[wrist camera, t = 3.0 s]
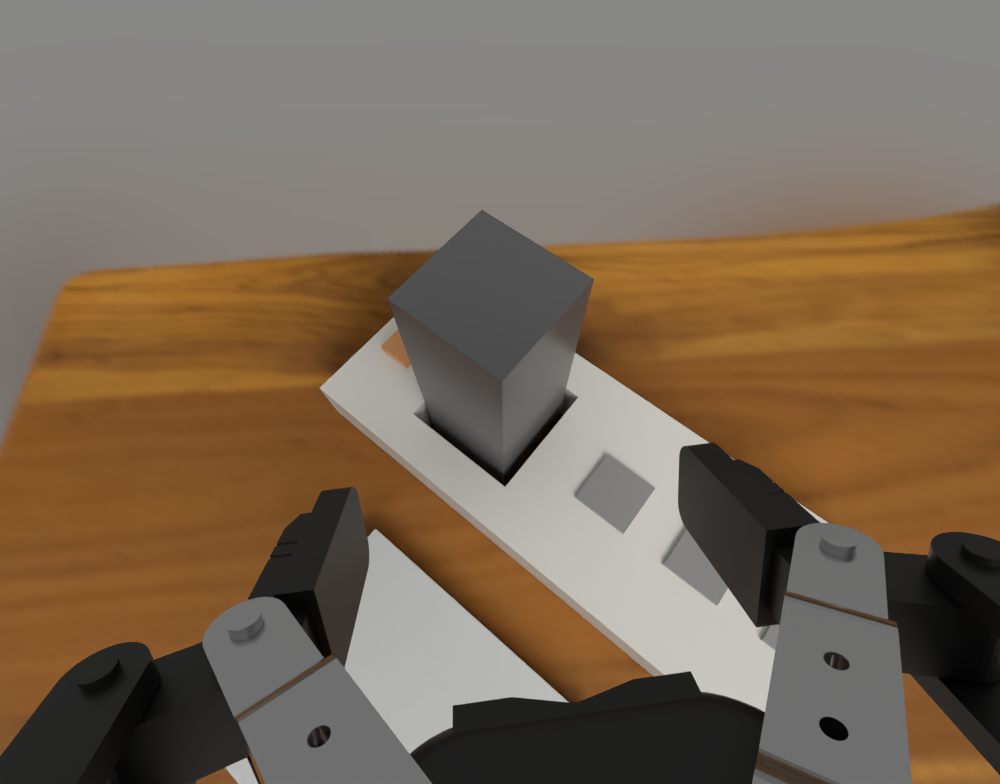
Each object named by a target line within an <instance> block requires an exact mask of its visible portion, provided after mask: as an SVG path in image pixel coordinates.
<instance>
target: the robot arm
mask: <svg viewBox="0 0 1000 784" xmlns="http://www.w3.org/2000/svg"><path fill="white" fill-rule="evenodd" d="M678 508H679V513H680V517H681V520H682V522H683V524H684V526H685V527H686V529H687V530H688V532H689V533H690V535H691V536H692V537H693V539H694V540H695V542H696V543H697V544H698V546H699V547H700V549H701V550H702V552H703V553H704V554H705V556H706V557H707V559H708V560H709V561H710V563H711V564H712V566H713V567H714V569H715V570H716V571H717V573H718V574H719V576H720V577H721V578H722V580H723V581H724V583H725V584H726V585H727V587H728V588H729V590H730V591H731V593H732V594H733V595H734V597H735V598H736V600H737V601H738V602H739V604H740V605H741V607H742V608H743V610H744V611H745V612H746V614H747V615H748V617H749V618H750V619H751V621H752V622H753V624H754V625H755V626H756V627H763V626H770V625H778V624H779V632H778V638H777V644H776V650H775V656H774V661H773V667H772V673H771V679H770V685H769V691H768V697H767V703H766V709H765V712H764V711H762V710H760V709H758V708H756V707H754V706H751V705H749V704H746V703H744V702H742V701H739V700H736V699H733V698H730V697H726V696H723V695H718V694H713V693H708V692H701V691H700V689H699V687H698V685H697V683H696V681H695V679H694V677H693V675H692V673H691V671H688V672H682V673H675V674H668V675H661V676H654V677H647V678H640V679H633V680H631V681H628V682H626V683H624V684H621V685H619V686H616V687H614V688H612V689H609V690H607V691H604V692H602V693H600V694H597V695H595V696H593V697H590V698H588V699H585V700H583V701H580V702H575V703H569V702H559V701H548V700H538V699H527V698H517V697H509V698H502V699H495V700H488V701H481V702H474V703H467V704H460V705H453V727H452V728H449V729H447V730H445V731H442V732H441V733H439V734H437V735H435V736H433V737H432V738H430V739H428V740H427V741H425V742H424V743H423V744H421V745H420V746H418V747H417V748H416V749H415V750H413V751H412V752H411V753H410V754H409V752H408V751H407V750H406V748H405V747H404V746H403V745H402V743H401V742H400V741H399V739H398V738H397V737H396V735H395V734H394V733H393V731H392V730H391V729H390V727H389V726H388V725H387V723H386V722H385V721H384V720H383V718H382V717H381V716H380V714H379V713H378V712H377V710H376V709H375V708H374V706H373V705H372V704H371V702H370V701H369V700H368V698H367V697H366V696H365V694H364V693H363V692H362V691H361V689H360V688H359V687H358V685H357V684H356V683H355V681H354V680H353V679H352V677H351V676H350V675H349V673H348V672H347V671H346V669H345V664H346V660H347V656H348V652H349V647H350V643H351V639H352V635H353V631H354V626H355V622H356V618H357V614H358V609H359V605H360V601H361V597H362V593H363V588H364V584H365V580H366V576H367V572H368V567H369V544H368V538H367V534H366V529H365V525H364V520H363V516H362V511H361V507H360V503H359V498H358V494H357V491H356V489H355V488H354V487H349V488H341V489H333V490H325V491H322V492H321V493H320V495H319V497H318V499H317V501H316V504H315V506H314V508H313V510H312V512H311V513H306V514H300V515H299V516H298V517H297V518H296V519H295V520H294V521H293V522H291V523H290V524H289V525H288V526H287V527H286V528H285V529H284V531H283V533H282V535H281V537H280V539H279V541H278V543H277V547H275V548H274V550H273V552H272V554H271V556H270V557H271V558H270V559H269V560H268V562H267V564H266V566H265V567H264V569H263V571H262V573H261V575H260V577H259V579H258V581H257V583H256V585H255V587H254V589H253V590H252V592H251V594H250V596H249V598H248V600H247V601H244V602H241V603H239V604H237V605H235V606H233V607H232V608H230V609H228V610H227V611H225V612H224V613H222V614H221V615H220V616H219V617H218V618H216V619H215V620H214V621H213V623H212V624H211V625H210V626H209V628H208V629H207V631H206V633H205V634H204V637H203V642H201V643H198V644H196V645H194V646H191V647H188V648H185V649H183V650H180V651H177V652H174V653H172V654H169V655H166V656H163V657H161V658H158V659H155V660H153V657H152V655H151V653H150V651H149V648H148V647H147V646H146V645H144V644H142V643H138V642H127V643H121V644H117V645H113V646H110V647H108V648H105V649H103V650H100V651H98V652H96V653H94V654H93V655H91V656H89V657H87V658H86V659H84V660H82V661H81V662H80V663H78V664H77V665H75V666H74V667H73V668H72V669H70V670H69V671H68V672H67V673H66V674H65V675H64V676H63V677H62V678H61V679H60V680H59V681H58V682H57V683H56V684H55V686H54V687H53V688H52V690H51V691H50V692H49V694H48V695H47V696H46V698H45V699H44V700H43V701H42V703H41V704H40V705H39V707H38V708H37V709H36V711H35V712H34V713H33V715H32V716H31V717H30V718H29V720H28V721H27V722H26V724H25V725H24V726H23V728H22V729H21V730H20V732H19V733H18V734H17V735H16V737H15V738H14V739H13V741H12V742H11V743H10V745H9V746H8V747H7V749H6V750H5V751H4V752H3V754H2V755H1V756H0V784H195V783H196V781H197V780H198V779H200V778H203V777H205V776H207V775H209V774H211V773H214V772H216V771H218V770H220V769H223V768H225V767H227V766H229V765H232V764H234V763H236V762H238V761H240V760H243V759H245V758H247V760H248V762H249V764H250V767H251V769H252V771H253V773H254V776H255V778H256V780H257V783H258V784H912V782H911V771H910V759H909V748H908V736H907V725H906V713H905V702H904V690H903V679H902V673H908V674H911V675H912V677H913V678H914V679H915V680H916V681H917V682H918V683H919V684H920V686H921V687H922V688H923V689H924V690H925V691H926V692H927V694H928V695H929V696H930V697H931V698H932V699H933V700H934V701H935V703H936V704H937V705H938V706H939V707H940V708H941V709H942V710H943V712H944V713H945V714H946V715H947V716H948V717H949V718H950V719H951V721H952V722H953V723H954V724H955V725H956V726H957V727H958V728H959V730H960V731H961V732H962V733H963V734H964V735H965V736H966V737H967V739H968V740H969V741H970V742H971V743H972V744H973V745H974V747H975V748H976V749H977V750H978V751H979V752H980V753H981V754H982V756H983V757H984V758H985V759H986V760H987V761H988V762H989V763H990V765H991V766H992V767H993V768H994V769H995V770H996V771H997V772H998V774H999V775H1000V541H997V540H994V539H991V538H988V537H984V536H981V535H976V534H971V533H963V532H948V533H942V534H939V535H937V536H935V537H934V538H933V539H932V541H931V545H930V549H929V553H928V555H916V554H904V553H892V552H883V551H882V549H881V547H880V546H879V545H878V544H877V543H876V542H875V541H874V540H873V539H871V538H870V537H868V536H867V535H865V534H863V533H861V532H859V531H857V530H855V529H852V528H849V527H846V526H842V525H837V524H831V523H820V522H819V521H818V520H817V519H816V518H815V517H813V516H812V515H811V514H810V513H809V512H808V511H807V510H805V509H804V508H803V507H802V506H801V505H800V504H799V503H797V502H796V501H795V500H794V499H793V498H792V497H791V496H790V495H788V494H787V493H784V490H783V489H782V488H780V487H779V486H778V485H777V484H776V483H773V481H772V480H771V479H770V478H769V477H768V476H767V475H766V474H764V473H763V472H762V471H761V470H760V469H759V468H757V467H754V466H752V465H750V464H748V463H746V462H744V461H741V460H739V459H738V460H733V459H732V458H731V457H730V456H729V455H727V454H726V453H725V452H724V451H723V450H722V449H721V448H720V447H719V446H718V445H717V444H715V443H705V444H697V445H690V446H683V447H682V448H681V450H680V454H679V480H678Z"/></svg>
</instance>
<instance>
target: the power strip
mask: <svg viewBox="0 0 1000 784" xmlns="http://www.w3.org/2000/svg"><path fill="white" fill-rule="evenodd" d="M320 390H321V391H322V392H323V394H324V395H325V396H326V397H327V399H328V400H329V401H330V402H331V404H332V405H333V406H334V408H335V409H336V410H337V411H338V413H340V414H341V415H342V416H343V417H344V418H346V419H347V420H348V421H349V422H350V423H352V424H353V425H354V426H355V427H356V428H358V429H359V430H360V431H361V432H362V433H364V434H365V435H366V436H367V437H368V438H370V439H371V440H372V441H373V442H374V443H375V444H377V445H378V446H379V447H380V448H381V449H383V450H384V451H385V452H386V453H387V454H389V455H390V456H391V457H392V458H393V459H395V460H396V461H397V462H398V463H399V464H401V465H402V466H403V467H404V468H405V469H407V470H408V471H409V472H410V473H411V474H413V475H414V476H415V477H416V478H417V479H418V480H420V481H421V482H422V483H423V484H424V485H426V486H427V487H428V488H429V489H430V490H432V491H433V492H434V493H435V494H436V495H438V496H439V497H440V498H441V499H442V500H444V501H445V502H446V503H447V504H448V505H450V506H451V507H452V508H453V509H454V510H456V511H457V512H458V513H459V514H460V515H461V516H463V517H464V518H465V519H466V520H467V521H469V522H470V523H471V524H472V525H473V526H475V527H476V528H477V529H478V530H479V531H481V532H482V533H483V534H484V535H485V536H487V537H488V538H489V539H490V540H491V541H493V542H494V543H495V544H496V545H497V546H498V547H500V548H501V549H502V550H503V551H504V552H506V553H507V554H508V555H509V556H510V557H512V558H513V559H514V560H515V561H516V562H518V563H519V564H520V565H521V566H522V567H524V568H525V569H526V570H527V571H528V572H530V573H531V574H532V575H533V576H534V577H536V578H537V579H538V580H539V581H540V582H541V583H543V584H544V585H545V586H546V587H547V588H549V589H550V590H551V591H552V592H553V593H555V594H556V595H557V596H558V597H559V598H561V599H562V600H563V601H564V602H565V603H567V604H568V605H569V606H570V607H571V608H573V609H574V610H575V611H576V612H577V613H579V614H580V615H581V616H582V617H583V618H584V619H586V620H587V621H588V622H589V623H590V624H592V625H593V626H594V627H595V628H596V629H598V630H599V631H600V632H601V633H602V634H604V635H605V636H606V637H607V638H608V639H610V640H611V641H612V642H613V643H614V644H616V645H617V646H618V647H619V648H620V649H622V650H623V651H624V652H625V653H626V654H627V655H629V656H630V657H631V658H632V659H633V660H635V661H636V662H637V663H638V664H639V665H641V666H642V667H643V668H644V669H645V670H647V671H648V672H649V673H650V674H651V675H653V676H661V675H668V674H675V673H682V672H688V671H691V673H692V675H693V677H694V679H695V681H696V683H697V685H698V687H699V689H700V691H701V692H708V693H713V694H718V695H723V696H726V697H730V698H733V699H736V700H739V701H742V702H744V703H746V704H749V705H751V706H754V707H756V708H758V709H760V710H762V711H764V712H765V709H766V703H767V697H768V691H769V685H770V679H771V673H772V667H773V661H774V656H775V650H776V644H777V638H778V632H779V624H778V625H770V626H763V627H756V626H755V625H754V624H753V622H752V621H751V619H750V618H749V617H748V615H747V614H746V612H745V611H744V610H743V608H742V607H741V605H740V604H739V602H738V601H737V600H736V598H735V597H734V595H733V594H732V593H731V591H730V590H729V588H728V587H727V585H726V584H725V583H724V581H723V580H722V578H721V577H720V576H719V574H718V573H717V571H716V570H715V569H714V567H713V566H712V564H711V563H710V561H709V560H708V559H707V557H706V556H705V554H704V553H703V552H702V550H701V549H700V547H699V546H698V544H697V543H696V542H695V540H694V539H693V537H692V536H691V535H690V533H689V532H688V530H687V529H686V527H685V526H684V524H683V522H682V520H681V517H680V513H679V508H678V480H679V454H680V450H681V448H682V447H683V446H690V445H697V444H705V443H709V442H707V441H706V440H704V439H703V438H701V437H700V436H698V435H697V434H695V433H694V432H692V431H691V430H689V429H688V428H686V427H685V426H683V425H682V424H680V423H679V422H677V421H676V420H674V419H673V418H672V417H670V416H669V415H667V414H666V413H664V412H663V411H661V410H660V409H658V408H657V407H655V406H654V405H652V404H651V403H649V402H648V401H646V400H645V399H643V398H642V397H640V396H639V395H637V394H636V393H634V392H633V391H631V390H630V389H628V388H627V387H625V386H624V385H622V384H621V383H619V382H618V381H617V380H615V379H614V378H612V377H611V376H609V375H608V374H606V373H605V372H603V371H602V370H600V369H599V368H597V367H596V366H594V365H593V364H591V363H590V362H588V361H587V360H585V359H584V358H582V357H581V356H579V355H578V354H576V353H575V355H574V359H573V363H572V366H571V370H570V374H569V378H568V382H567V386H566V390H565V394H564V398H563V402H562V406H561V410H560V413H561V414H562V415H563V417H562V418H561V419H560V420H559V422H558V423H557V424H556V425H555V426H554V428H553V429H552V430H551V431H550V433H549V434H548V435H547V436H546V438H545V439H544V440H543V441H542V442H541V444H540V445H539V446H538V447H537V449H536V450H535V451H534V452H533V453H532V455H531V456H530V457H529V458H528V460H527V461H526V462H525V463H524V465H523V466H522V467H521V468H520V469H519V471H518V472H517V473H516V474H515V476H514V477H513V478H512V479H511V480H510V482H509V483H508V484H507V485H506V487H505V486H503V485H502V484H501V483H499V482H498V481H497V480H496V479H494V478H493V477H492V476H491V475H489V474H488V473H487V472H486V471H484V470H483V469H482V468H481V467H479V466H478V465H477V464H476V463H474V462H473V461H472V460H471V459H469V458H468V457H467V456H465V455H464V454H463V453H462V452H460V451H459V450H458V449H457V448H455V447H454V446H453V445H452V444H450V443H449V442H448V441H447V440H445V439H444V438H443V437H442V436H440V435H439V434H438V433H436V432H435V431H434V430H433V429H431V428H430V427H431V426H432V425H433V424H432V421H431V418H430V415H429V413H428V410H427V407H426V404H425V401H424V399H423V396H422V393H421V390H420V388H419V385H418V382H417V379H416V377H415V374H414V371H413V368H412V366H411V363H410V360H409V357H408V355H407V352H406V349H405V346H404V344H403V341H402V338H401V335H400V333H399V330H398V327H397V324H396V322H395V319H394V317H393V318H392V319H391V320H390V321H389V322H388V323H387V324H386V325H385V326H384V327H383V328H382V329H381V330H380V331H379V332H378V333H376V334H375V335H374V336H373V337H372V338H371V339H370V340H369V341H368V342H367V343H366V344H365V345H364V346H363V347H362V348H361V349H360V350H359V351H358V352H357V353H356V354H355V355H353V356H352V357H351V358H350V359H349V360H348V361H347V362H346V363H345V364H344V365H343V366H342V367H341V368H340V369H339V370H338V371H337V372H336V373H335V374H334V375H333V376H332V377H330V378H329V379H328V380H327V381H326V382H325V383H324V384H323V385H322V386H321V387H320ZM733 460H734V459H733ZM797 503H798V502H797ZM800 505H801V504H800ZM801 506H802V505H801ZM802 507H803V508H804V509H805V510H807V511H808V512H809V513H810V514H811V515H812V516H813V517H815V518H816V519H817V520H818V521H819V522H820V523H828V522H826V521H825V520H823V519H822V518H820V517H819V516H817V515H816V514H814V513H813V512H811V511H810V510H808V509H807V508H805V507H804V506H802Z"/></svg>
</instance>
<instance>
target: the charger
mask: <svg viewBox="0 0 1000 784" xmlns="http://www.w3.org/2000/svg"><path fill="white" fill-rule="evenodd" d="M593 280H594V279H593V278H591V277H589V276H588V275H586V274H585V273H583V272H581V271H580V270H578V269H576V268H575V267H573V266H572V265H570V264H568V263H567V262H565V261H564V260H562V259H560V258H559V257H557V256H555V255H554V254H552V253H551V252H549V251H547V250H546V249H544V248H543V247H541V246H539V245H538V244H536V243H534V242H533V241H531V240H530V239H528V238H526V237H525V236H523V235H522V234H520V233H518V232H517V231H515V230H513V229H512V228H510V227H508V226H507V225H505V224H504V223H502V222H500V221H499V220H497V219H496V218H494V217H492V216H491V215H489V214H488V213H486V212H484V211H483V210H481V211H480V212H479V213H478V214H477V215H476V216H475V217H474V218H473V219H471V220H470V221H469V222H468V223H467V224H466V225H465V226H464V227H463V228H462V229H461V230H460V231H459V232H458V233H457V234H455V236H453V237H452V238H451V239H450V240H449V241H448V242H447V243H446V244H445V245H444V246H443V247H442V248H440V249H439V250H438V251H437V252H436V253H435V254H434V255H433V256H432V257H431V258H430V259H429V260H428V261H427V262H425V263H424V264H423V265H422V266H421V267H420V268H419V269H418V270H417V271H416V272H415V273H414V274H413V275H412V276H410V277H409V278H408V279H407V280H406V281H405V282H404V283H403V284H402V285H401V286H400V287H399V288H398V289H397V290H396V291H394V292H393V293H392V294H391V295H390V296H389V297H388V298H387V300H388V302H389V305H390V308H391V311H392V313H393V316H394V319H395V322H396V324H397V327H398V330H399V333H400V335H401V338H402V341H403V344H404V346H405V349H406V352H407V355H408V357H409V360H410V363H411V366H412V368H413V371H414V374H415V377H416V379H417V382H418V385H419V388H420V390H421V393H422V396H423V399H424V401H425V404H426V407H427V410H428V413H429V415H430V418H431V421H432V424H433V426H434V429H435V432H436V433H438V434H439V435H440V436H442V437H443V438H444V439H445V440H447V441H448V442H449V443H450V444H452V445H453V446H454V447H455V448H457V449H458V450H459V451H460V452H462V453H463V454H464V455H465V456H467V457H468V458H469V459H471V460H472V461H473V462H474V463H476V464H477V465H478V466H479V467H481V468H482V469H483V470H484V471H486V472H487V473H488V474H489V475H491V476H492V477H493V478H494V479H496V480H497V481H498V482H499V483H501V484H502V485H503V486H506V485H507V483H508V482H509V481H510V480H511V478H512V477H513V476H514V475H515V474H516V472H517V471H518V470H519V469H520V467H521V466H522V465H523V464H524V462H525V461H526V460H527V459H528V458H529V456H530V455H531V454H532V453H533V451H534V450H535V449H536V448H537V447H538V445H539V444H540V443H541V442H542V440H543V439H544V438H545V437H546V436H547V434H548V433H549V432H550V431H551V429H552V428H553V427H554V426H555V424H556V423H557V422H558V418H559V414H560V410H561V406H562V402H563V398H564V394H565V390H566V386H567V382H568V378H569V374H570V370H571V366H572V363H573V359H574V355H575V351H576V347H577V343H578V339H579V335H580V331H581V327H582V323H583V319H584V315H585V311H586V307H587V304H588V300H589V296H590V292H591V288H592V284H593Z"/></svg>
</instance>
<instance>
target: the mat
mask: <svg viewBox="0 0 1000 784" xmlns="http://www.w3.org/2000/svg"><path fill="white" fill-rule="evenodd" d="M367 538H368V544H369V567H368V572H367V576H366V580H365V584H364V588H363V593H362V597H361V601H360V605H359V609H358V614H357V618H356V622H355V626H354V631H353V635H352V639H351V643H350V647H349V652H348V656H347V660H346V664H345V669H346V671H347V672H348V673H349V675H350V676H351V677H352V679H353V680H354V681H355V683H356V684H357V685H358V687H359V688H360V689H361V691H362V692H363V693H364V694H365V696H366V697H367V698H368V700H369V701H370V702H371V704H372V705H373V706H374V708H375V709H376V710H377V712H378V713H379V714H380V716H381V717H382V718H383V720H384V721H385V722H386V723H387V725H388V726H389V727H390V729H391V730H392V731H393V733H394V734H395V735H396V737H397V738H398V739H399V741H400V742H401V743H402V745H403V746H404V747H405V748H406V750H407V751H408V752H409V754H410V753H411V752H412V751H413V750H415V749H416V748H417V747H418V746H420V745H421V744H423V743H424V742H425V741H427V740H428V739H430V738H432V737H433V736H435V735H437V734H439V733H441V732H442V731H445V730H447V729H449V728H452V727H453V705H460V704H467V703H474V702H481V701H488V700H495V699H502V698H509V697H517V698H527V699H538V700H548V701H559V702H568V701H567V700H566V699H565V698H564V697H563V696H562V695H561V694H559V693H558V692H557V691H556V690H555V689H554V688H553V687H552V686H551V685H549V684H548V683H547V682H546V681H545V680H544V679H543V678H542V677H541V676H539V675H538V674H537V673H536V672H535V671H534V670H533V669H532V668H531V667H529V666H528V665H527V664H526V663H525V662H524V661H523V660H522V659H520V658H519V657H518V656H517V655H516V654H515V653H514V652H513V651H512V650H510V649H509V648H508V647H507V646H506V645H505V644H504V643H503V642H502V641H500V640H499V639H498V638H497V637H496V636H495V635H494V634H493V633H492V632H490V631H489V630H488V629H487V628H486V627H485V626H484V625H483V624H482V623H480V622H479V621H478V620H477V619H476V618H475V617H474V616H473V615H472V614H470V613H469V612H468V611H467V610H466V609H465V608H464V607H463V606H462V605H460V604H459V603H458V602H457V601H456V600H455V599H454V598H453V597H452V596H450V595H449V594H448V593H447V592H446V591H445V590H444V589H443V588H442V587H440V586H439V585H438V584H437V583H436V582H435V581H434V580H433V579H432V578H430V577H429V576H428V575H427V574H426V573H425V572H424V571H423V570H422V569H420V568H419V567H418V566H417V565H416V564H415V563H414V562H413V561H412V560H410V559H409V558H408V557H407V556H406V555H405V554H404V553H403V552H402V551H400V550H399V549H398V548H397V547H396V546H395V545H394V544H393V543H392V542H390V541H389V540H388V539H387V538H386V537H385V536H384V535H383V534H381V533H380V532H379V531H378V530H376V529H375V530H374V531H373V532H372V533H371V534H370V535H369V536H368V537H367ZM225 768H226V769H227V770H228V772H229V773H230V774H231V775H232V776H233V778H234V779H235V780H236V781H237V782H238V784H258V783H257V780H256V778H255V776H254V773H253V771H252V769H251V767H250V764H249V762H248V760H247V758H245V759H243V760H240V761H238V762H236V763H234V764H232V765H229V766H227V767H225Z"/></svg>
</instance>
